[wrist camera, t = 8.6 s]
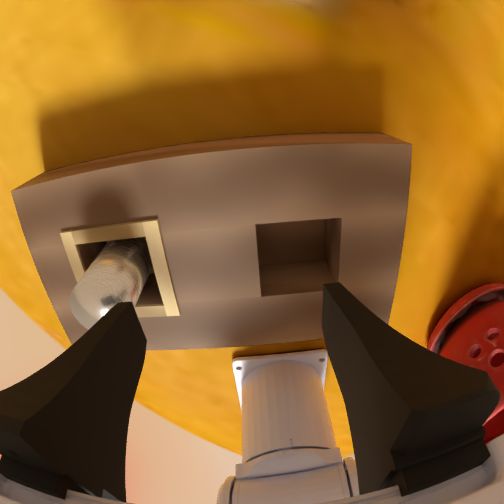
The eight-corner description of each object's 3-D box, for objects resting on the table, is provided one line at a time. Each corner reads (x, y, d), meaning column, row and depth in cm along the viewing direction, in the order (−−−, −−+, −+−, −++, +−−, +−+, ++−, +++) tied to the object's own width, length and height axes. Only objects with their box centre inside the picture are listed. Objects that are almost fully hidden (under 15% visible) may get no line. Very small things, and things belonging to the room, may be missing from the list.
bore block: (368, 294, 23) (387, 330, 19) (91, 315, 23) (73, 350, 20) (381, 132, 17) (413, 145, 14) (44, 172, 18) (9, 192, 14)
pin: (163, 264, 21) (136, 335, 15) (120, 267, 21) (82, 335, 15) (153, 219, 19) (117, 281, 13) (108, 224, 19) (60, 284, 13)
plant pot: (436, 273, 23) (517, 381, 12) (527, 268, 23) (596, 341, 12) (394, 380, 29) (431, 477, 18) (482, 361, 29) (525, 434, 19)
